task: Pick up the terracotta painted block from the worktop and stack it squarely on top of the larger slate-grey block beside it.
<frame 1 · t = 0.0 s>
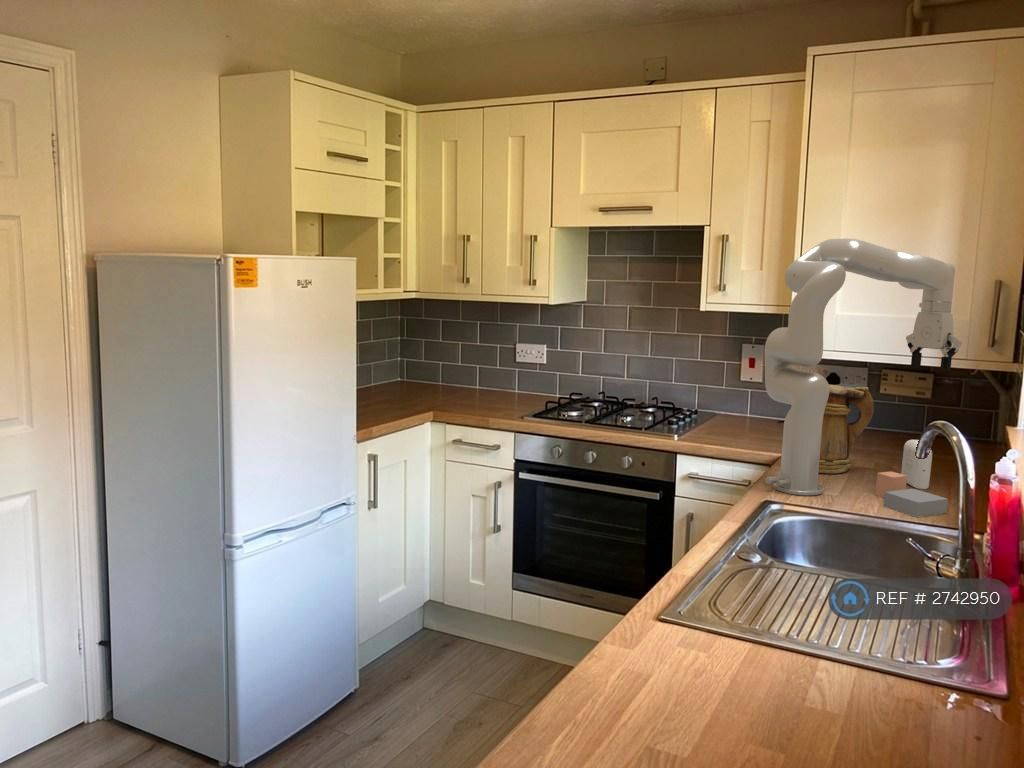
hand: (930, 368, 238), 31 cm above the worktop, tool pointing down, fingers open, 9 cm apart
tankard: (824, 468, 250), on the worktop
photo printer: (914, 485, 233), on the worktop
slate block: (914, 511, 209), on the worktop
terracotta block: (889, 496, 220), on the worktop
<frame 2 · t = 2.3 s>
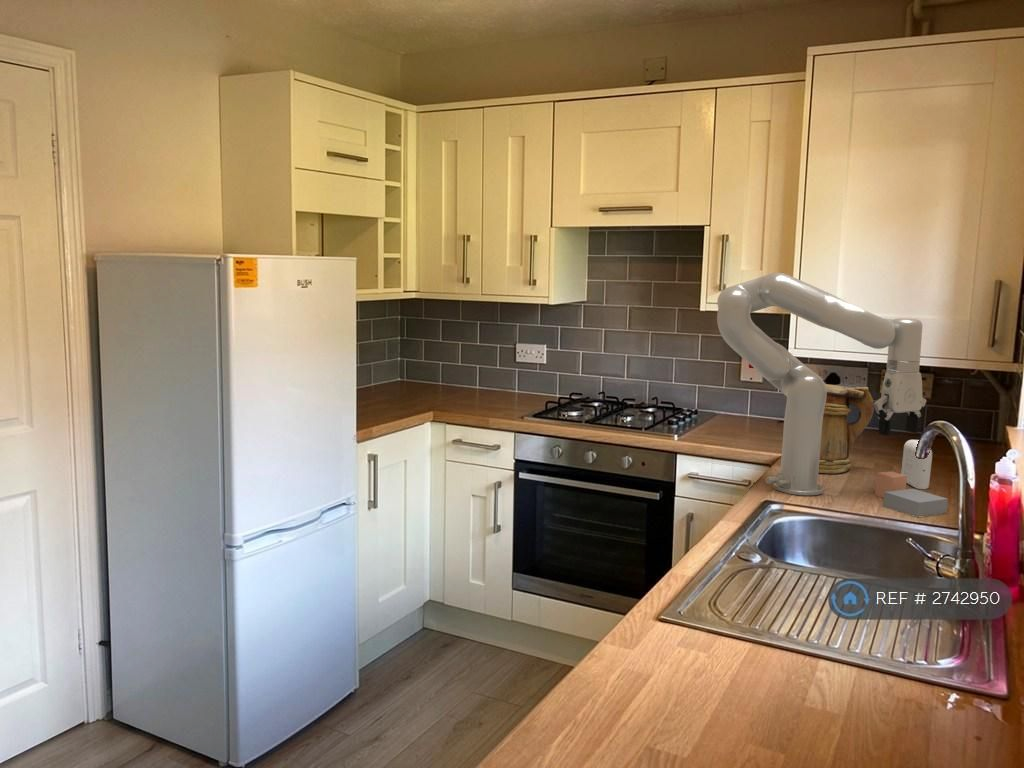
hand: (898, 433, 218), 17 cm above the worktop, tool pointing down, fingers open, 9 cm apart
nothing on the worktop moved.
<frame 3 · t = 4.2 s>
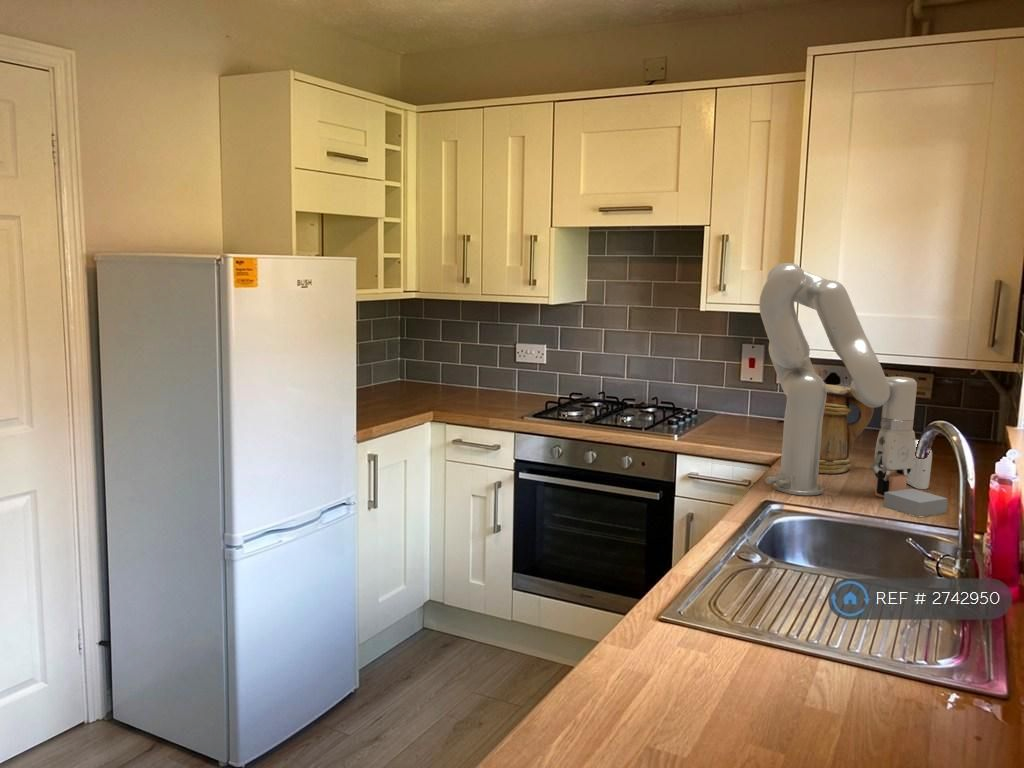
hand: (890, 492, 220), 1 cm above the worktop, tool pointing down, fingers closed on terracotta block, 5 cm apart
terracotta block: (890, 496, 220), on the worktop, touching gripper
everything else where it was.
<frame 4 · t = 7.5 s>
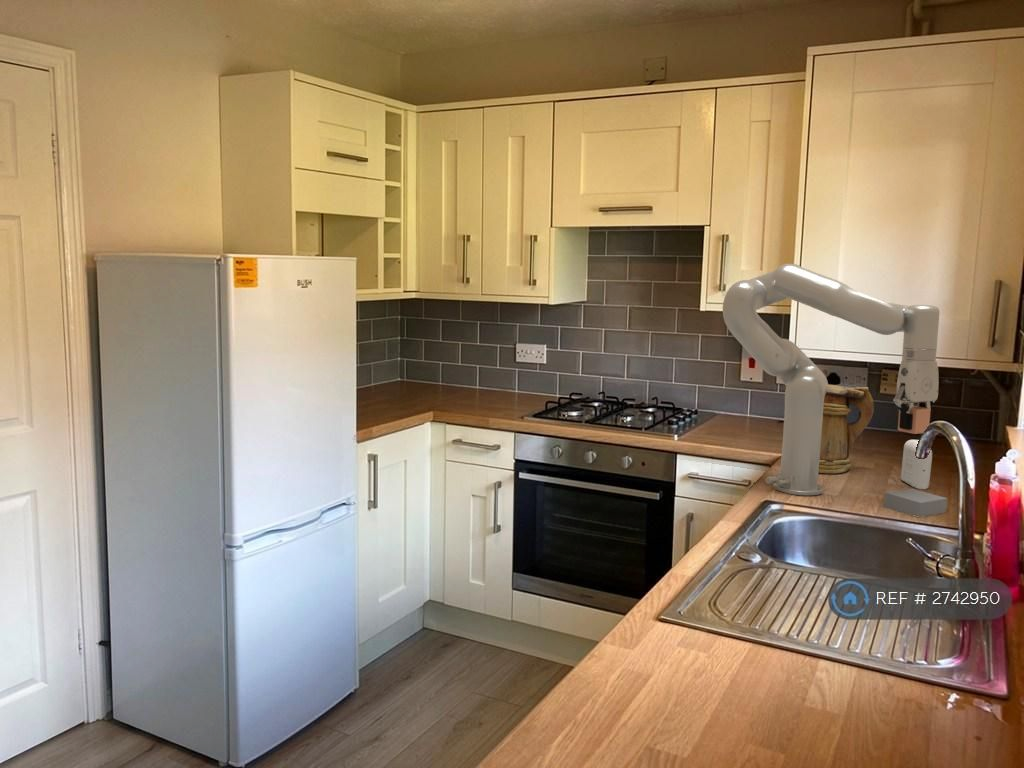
hand: (913, 427, 210), 20 cm above the worktop, tool pointing down, fingers closed on terracotta block, 5 cm apart
terracotta block: (913, 431, 211), point 19 cm above the worktop, touching gripper
everything else where it was.
when the fingers open (7 cm above the worktop, at t = 11.0 s): terracotta block drops 2 cm, point 4 cm above the worktop.
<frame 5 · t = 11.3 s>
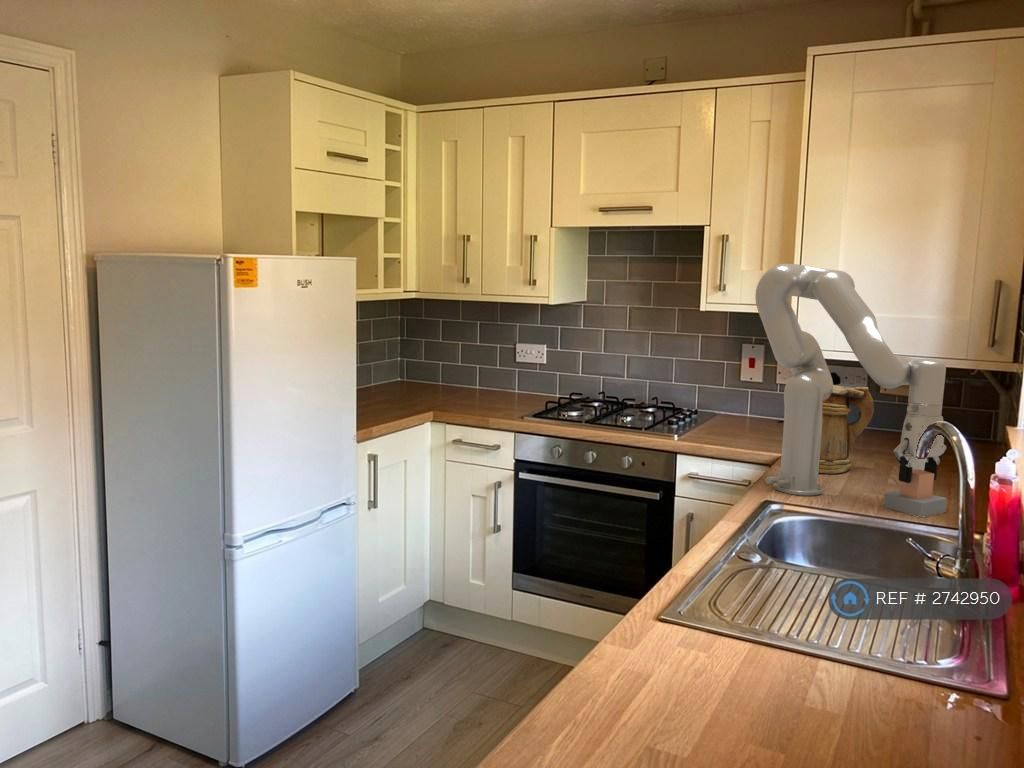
hand: (917, 480, 207), 7 cm above the worktop, tool pointing down, fingers open, 8 cm apart
terracotta block: (915, 495, 208), point 4 cm above the worktop
everything else where it was.
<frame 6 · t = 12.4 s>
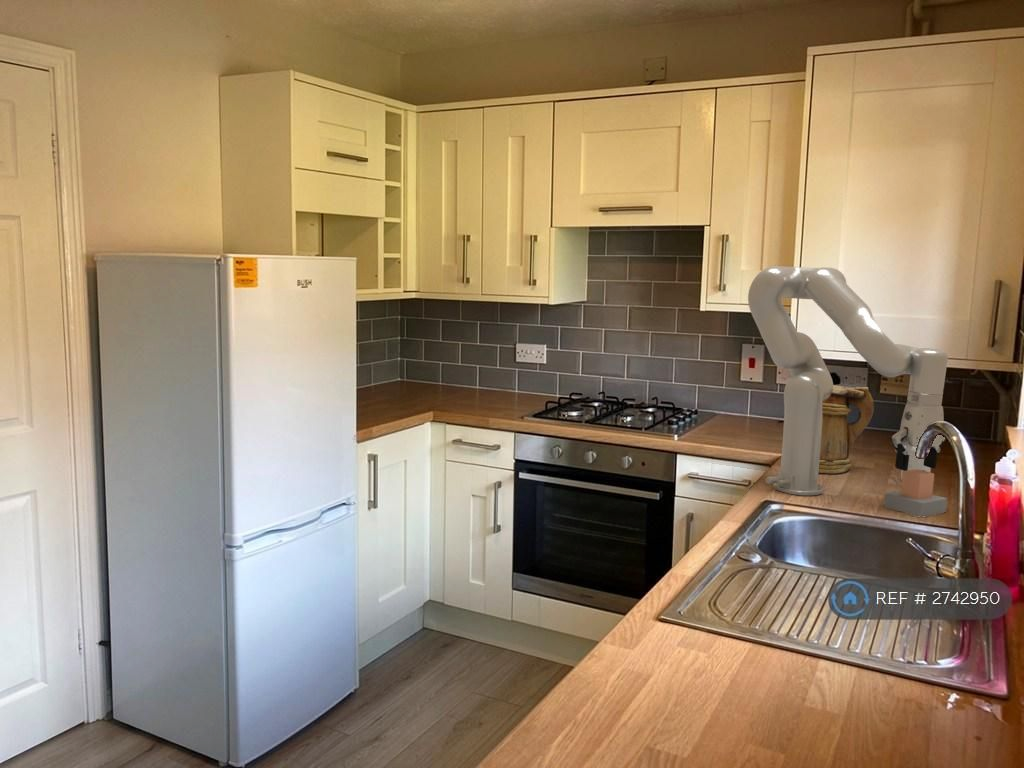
hand: (915, 468, 207), 10 cm above the worktop, tool pointing down, fingers open, 9 cm apart
slate block: (914, 511, 209), on the worktop, touching terracotta block
terracotta block: (916, 495, 208), point 4 cm above the worktop, touching slate block
everything else where it was.
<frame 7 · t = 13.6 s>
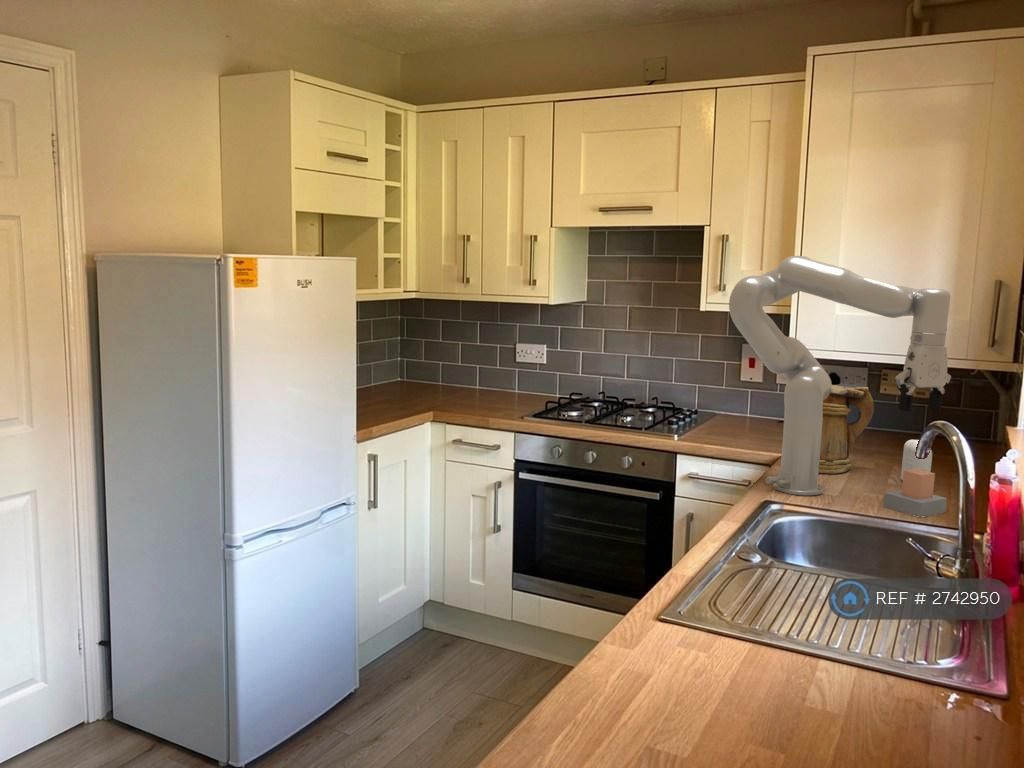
hand: (919, 409, 207), 25 cm above the worktop, tool pointing down, fingers open, 9 cm apart
nothing on the worktop moved.
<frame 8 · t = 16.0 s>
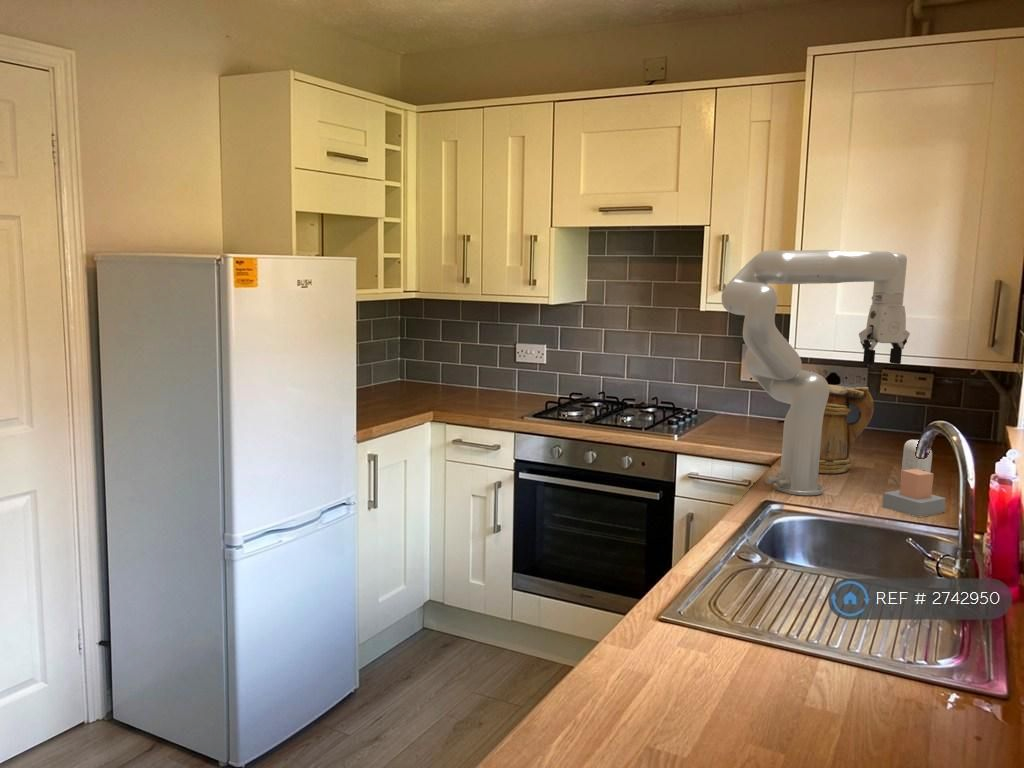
hand: (881, 363, 227), 33 cm above the worktop, tool pointing down, fingers open, 9 cm apart
nothing on the worktop moved.
at the end: terracotta block 0.1 cm off-centre on the slate block, point 4.0 cm above the slate block's base; terracotta block tilted 0°; the gripper is holding nothing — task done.
